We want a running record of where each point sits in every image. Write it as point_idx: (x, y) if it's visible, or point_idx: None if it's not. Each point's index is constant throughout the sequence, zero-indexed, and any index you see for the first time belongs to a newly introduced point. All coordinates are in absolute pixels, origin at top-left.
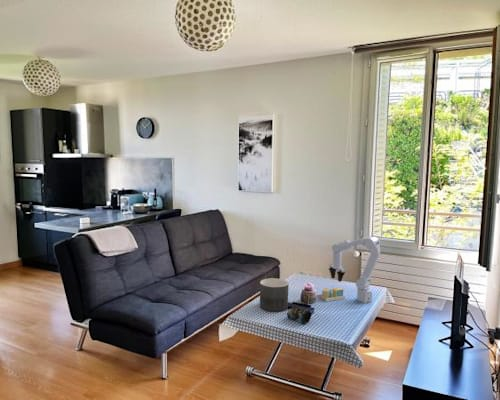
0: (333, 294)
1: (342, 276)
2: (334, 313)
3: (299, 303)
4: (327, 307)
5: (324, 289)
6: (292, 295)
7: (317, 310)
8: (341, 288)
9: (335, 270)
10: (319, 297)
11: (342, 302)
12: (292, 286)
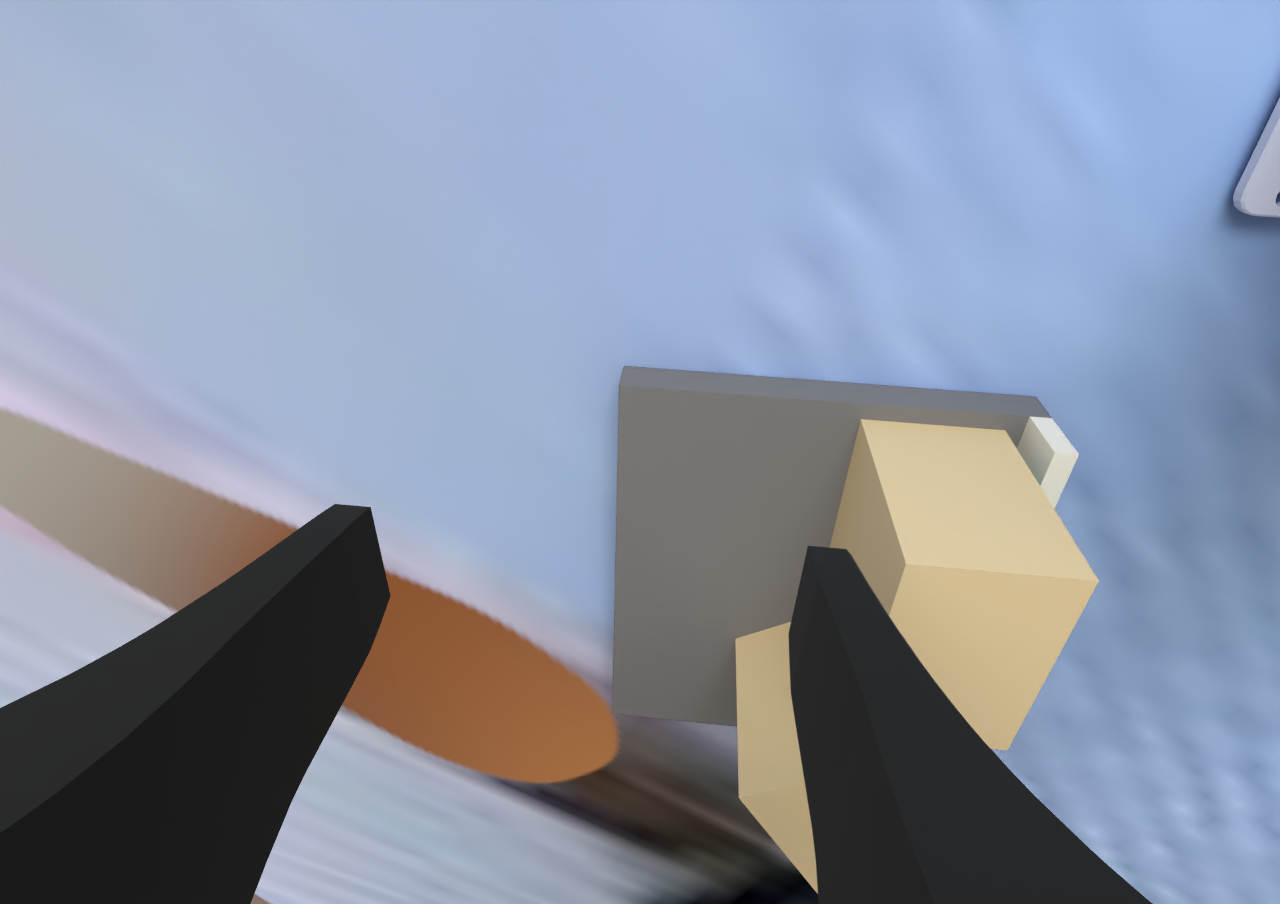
0: None
1: (960, 751)
2: (1254, 830)
3: (717, 893)
4: (1040, 782)
5: (799, 853)
6: (442, 828)
7: None
8: (1008, 580)
9: (100, 805)
10: (716, 719)
11: (1084, 512)
12: (63, 673)
